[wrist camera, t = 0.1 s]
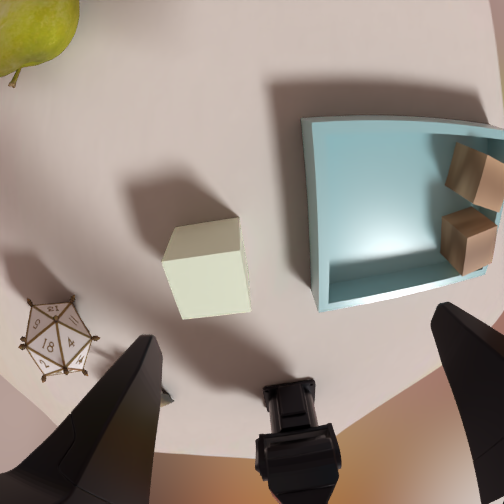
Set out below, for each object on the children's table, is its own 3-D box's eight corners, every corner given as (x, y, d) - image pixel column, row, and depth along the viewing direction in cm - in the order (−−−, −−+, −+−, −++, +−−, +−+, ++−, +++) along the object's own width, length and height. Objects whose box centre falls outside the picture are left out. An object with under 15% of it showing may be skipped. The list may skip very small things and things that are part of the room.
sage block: (248, 271, 25) (251, 311, 20) (190, 279, 25) (182, 319, 20) (239, 216, 22) (239, 250, 18) (175, 226, 22) (161, 261, 18)
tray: (469, 258, 25) (484, 274, 23) (310, 289, 26) (318, 312, 23) (489, 124, 18) (511, 132, 15) (300, 118, 18) (311, 122, 16)
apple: (19, 94, 15) (-49, 111, 8) (23, 2, 10) (-38, -8, 3) (96, 68, 15) (29, 66, 8) (102, -32, 11) (49, -67, 4)
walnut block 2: (468, 241, 23) (491, 262, 20) (440, 253, 24) (462, 276, 20) (471, 206, 21) (497, 225, 18) (441, 216, 22) (467, 238, 18)
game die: (94, 286, 29) (123, 344, 23) (75, 344, 30) (100, 405, 23) (22, 268, 22) (25, 329, 16) (10, 333, 23) (19, 401, 17)
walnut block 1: (472, 194, 21) (499, 212, 17) (444, 185, 20) (472, 203, 17) (483, 154, 19) (512, 168, 15) (456, 141, 18) (487, 154, 15)
